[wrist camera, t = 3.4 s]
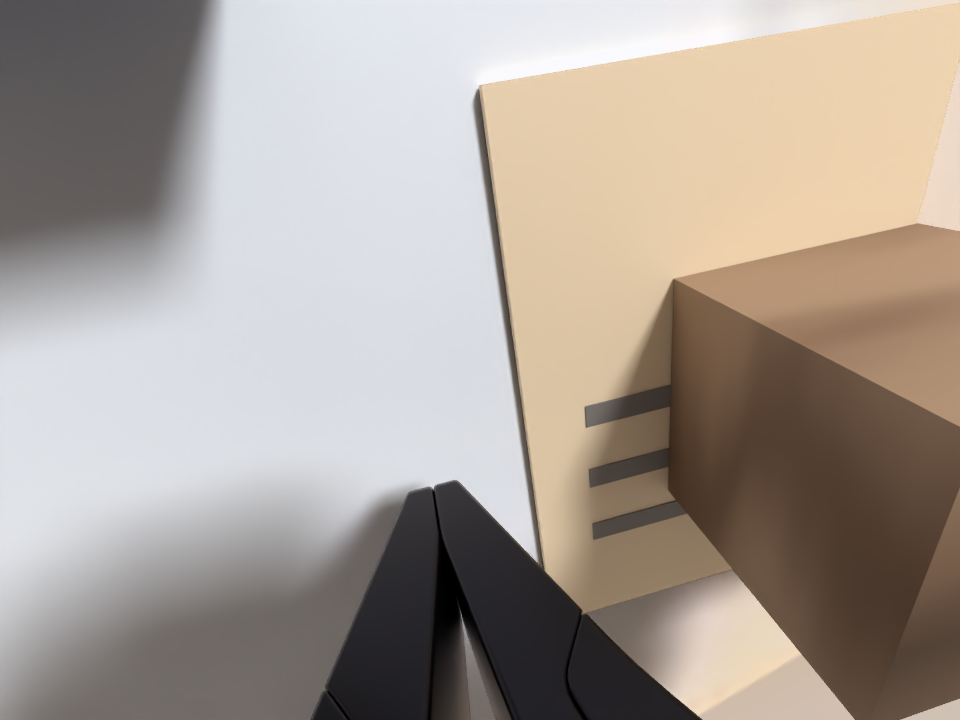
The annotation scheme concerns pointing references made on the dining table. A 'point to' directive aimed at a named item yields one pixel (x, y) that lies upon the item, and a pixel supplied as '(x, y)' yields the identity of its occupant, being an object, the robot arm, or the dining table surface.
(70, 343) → the dining table surface
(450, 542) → the robot arm
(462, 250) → the dining table surface
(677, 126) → the letter
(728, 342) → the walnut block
